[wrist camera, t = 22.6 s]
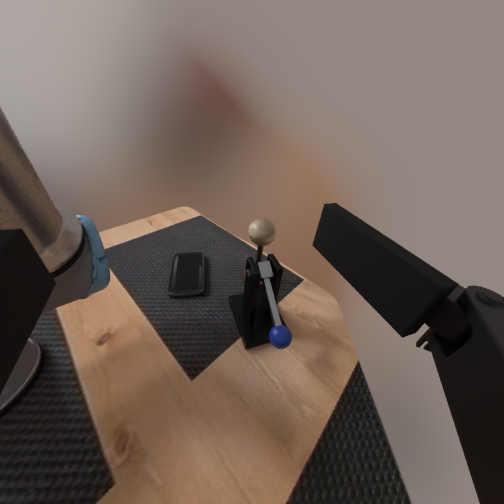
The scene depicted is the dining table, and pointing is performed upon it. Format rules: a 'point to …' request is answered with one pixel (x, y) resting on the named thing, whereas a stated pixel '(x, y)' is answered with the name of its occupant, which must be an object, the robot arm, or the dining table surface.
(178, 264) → the phone
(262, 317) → the switch bracket
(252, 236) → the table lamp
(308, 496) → the dining table surface
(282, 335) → the switch lever
